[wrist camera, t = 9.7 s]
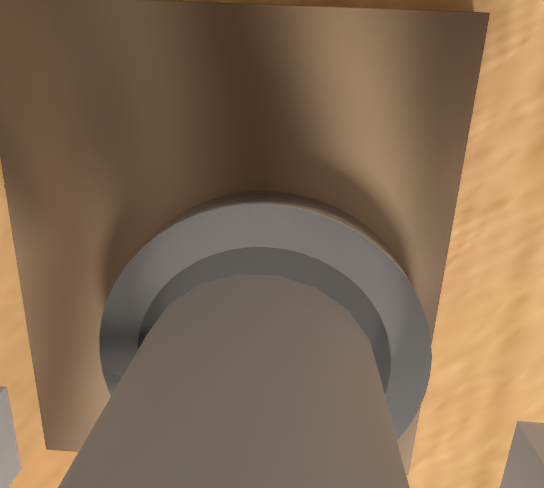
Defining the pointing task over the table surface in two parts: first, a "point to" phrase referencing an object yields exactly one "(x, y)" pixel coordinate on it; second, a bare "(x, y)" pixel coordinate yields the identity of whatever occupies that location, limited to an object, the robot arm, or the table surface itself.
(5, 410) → the robot arm
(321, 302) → the can
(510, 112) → the table surface
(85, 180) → the board
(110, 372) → the grey hollow ring
